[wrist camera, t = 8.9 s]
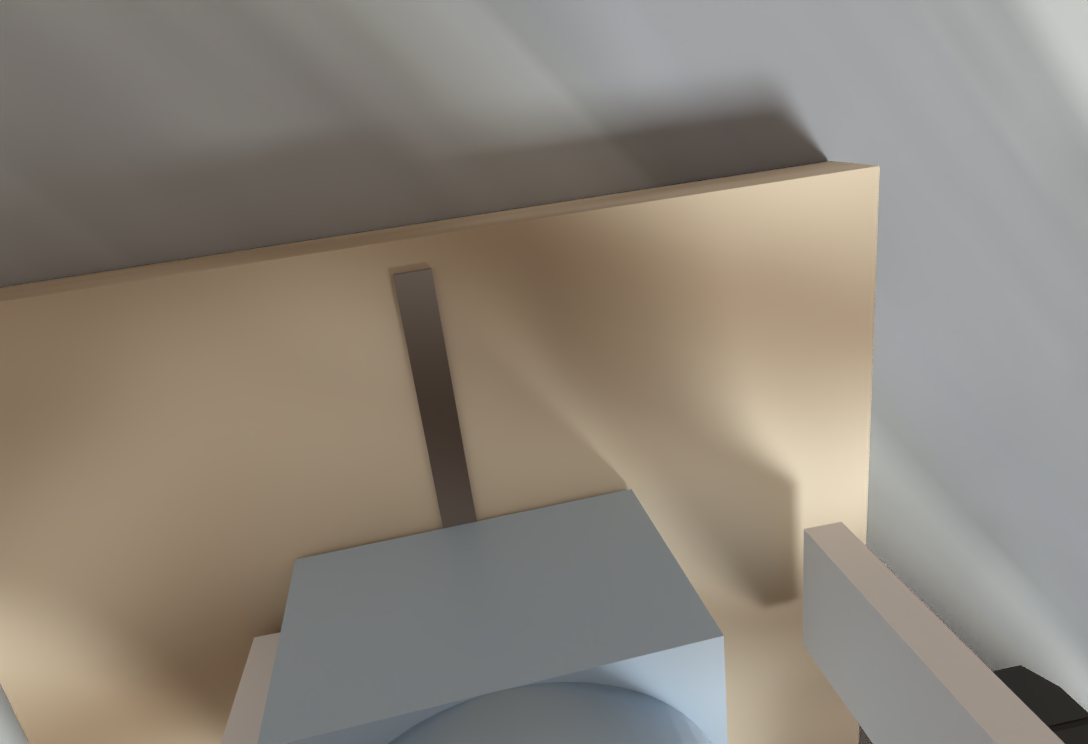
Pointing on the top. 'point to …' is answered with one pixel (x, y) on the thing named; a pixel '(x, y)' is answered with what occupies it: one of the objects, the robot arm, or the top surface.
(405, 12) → the top surface
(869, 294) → the panel
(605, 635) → the knob
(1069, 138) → the top surface
